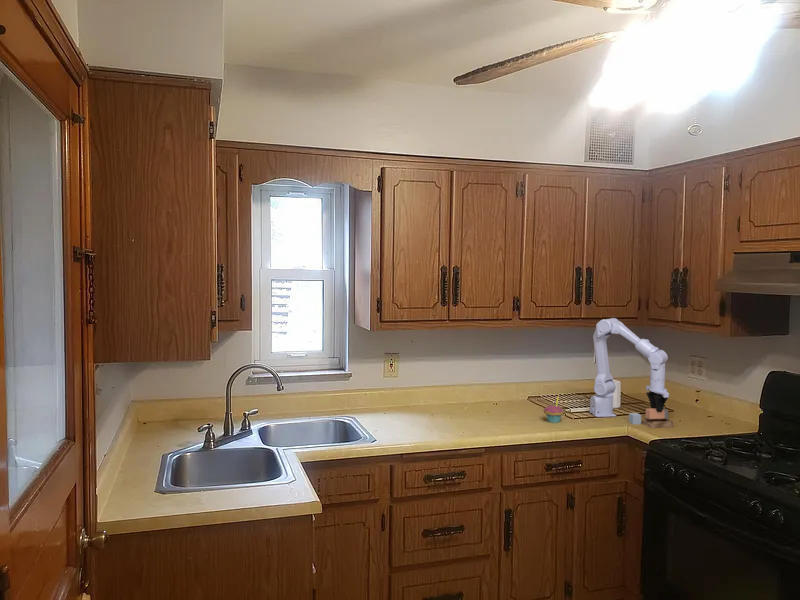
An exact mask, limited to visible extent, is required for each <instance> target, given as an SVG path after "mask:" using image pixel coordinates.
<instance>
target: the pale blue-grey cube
mask: <svg viewBox="0 0 800 600" xmlns="http://www.w3.org/2000/svg"><path fill="white" fill-rule="evenodd" d="M641 421H642V415H641V414H640V413H637V412H630V413H628V423H630V424H631V425H642V423H641Z"/></svg>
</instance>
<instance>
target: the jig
mask: <svg viewBox="0 0 800 600" xmlns="http://www.w3.org/2000/svg"><path fill="white" fill-rule="evenodd" d="M641 424H642V425H644V426H647V427H649V428H651V429H659V428H660V429H661V428H663V429H664V428H674V427H675V425H674V421H673V420H670V419H669V418H664V419H649V418H647V417H644V419H643V420H642V419H641Z"/></svg>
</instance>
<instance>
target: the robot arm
mask: <svg viewBox="0 0 800 600" xmlns="http://www.w3.org/2000/svg"><path fill="white" fill-rule="evenodd" d="M595 326H596V327H595V330H594V332H593V336H592V338H593V345H594V346H593V347H594V349H593V350H594V357H595V367H596V373H597V375H596V377H595V379H594V385H593V391H594V393H595V395H591V396H590V400H589V412H590V413H589V414H591V413H592V414H593V415H592V414H591V415H592V416H594V417H595V418H601V417H602V418H607V417H617V415H616V414H615V413H614V411H613V410H614V408H613V392H614V391H615V389H616V385H615V383H614V381H613V380H614V377H613V376H612V374H611V373H610V364H609V355H608V354H609V353H608V345H607V339H608V338H609V337H610V336H611V335H612V334H615V335H620V336H622V337H623V338H625V339H626V340H627V341H629V342H630V343H631V344H633V345H634V346H635V350H636V351H638V352H639V353H640V354H642V355H643V356H644V357H645V358H646V359H648V362H649V363H650V369H649V370H650V374H649V377H650V378H649V385H645V386H646V387H645V390H646V391H649V392H646V393H645V394H646V396H647V398H648V401H649V404H650V405H649V406H650V408H656V411H657V412H662V410H663V408H665V407H664V406H665V403H666V402H667V400H668V399H669V397H670V393H669V392H668V389H667V388H666V387H665V386H666V384H665V383H666V362H667V361H668V354H667V352H665V351H664V350H663V349H659V347H658V346H655V345H653V344H652V343H650V340H649V339H646V338H640V337H639V336H637V334H635V333H634V332H633V331H631V330H630V329H629V328H628V327H627V326H626V325H625V324H624V323H623V322H622V321H620V320H619V319H618V318H616V317H611V318H606V319H605V318H604V319H601V320H600V321H598V322H597V323H596V325H595Z"/></svg>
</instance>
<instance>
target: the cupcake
mask: <svg viewBox="0 0 800 600" xmlns="http://www.w3.org/2000/svg"><path fill="white" fill-rule="evenodd" d="M559 395H560V394H558V396H557V398H556V401H555V404H552V405H547V406H545V407H544V408H543V414H545V415H546V419H547V422H549V423H553V424H556V423H557V424H558V423H560V421H561V418H562V416H563V415H564V413H565V411H564V409H563V408H562V407H561V406H559V398H560V396H559Z"/></svg>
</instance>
